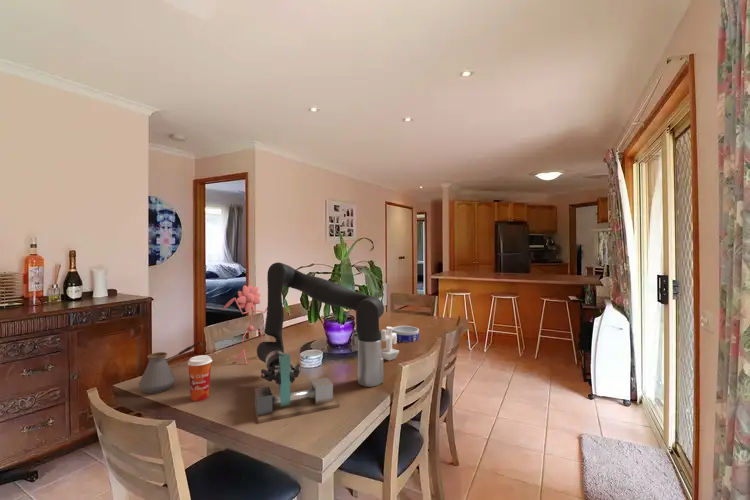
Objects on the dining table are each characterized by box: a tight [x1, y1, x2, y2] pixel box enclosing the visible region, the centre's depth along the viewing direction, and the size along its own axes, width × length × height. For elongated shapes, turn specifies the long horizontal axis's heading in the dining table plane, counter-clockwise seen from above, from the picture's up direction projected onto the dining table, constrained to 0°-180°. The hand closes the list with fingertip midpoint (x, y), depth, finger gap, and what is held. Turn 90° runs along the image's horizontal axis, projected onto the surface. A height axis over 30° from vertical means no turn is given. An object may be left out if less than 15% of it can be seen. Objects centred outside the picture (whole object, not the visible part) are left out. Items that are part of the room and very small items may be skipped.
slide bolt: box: [272, 352, 315, 406], centre depth 115 cm, size 19×3×16 cm, turn 115°
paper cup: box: [187, 354, 213, 402], centre depth 123 cm, size 8×8×14 cm
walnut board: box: [253, 395, 340, 424], centre depth 116 cm, size 26×11×1 cm, turn 115°
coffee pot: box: [138, 341, 203, 394], centre depth 133 cm, size 21×12×15 cm, turn 133°
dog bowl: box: [392, 325, 420, 343], centre depth 199 cm, size 15×15×6 cm
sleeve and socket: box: [254, 377, 334, 418], centre depth 116 cm, size 24×7×6 cm, turn 115°
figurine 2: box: [380, 326, 400, 362], centre depth 165 cm, size 7×9×15 cm
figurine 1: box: [221, 284, 267, 365], centre depth 164 cm, size 15×26×35 cm, turn 141°
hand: (286, 380), depth 112 cm, fingers open, 3 cm apart
